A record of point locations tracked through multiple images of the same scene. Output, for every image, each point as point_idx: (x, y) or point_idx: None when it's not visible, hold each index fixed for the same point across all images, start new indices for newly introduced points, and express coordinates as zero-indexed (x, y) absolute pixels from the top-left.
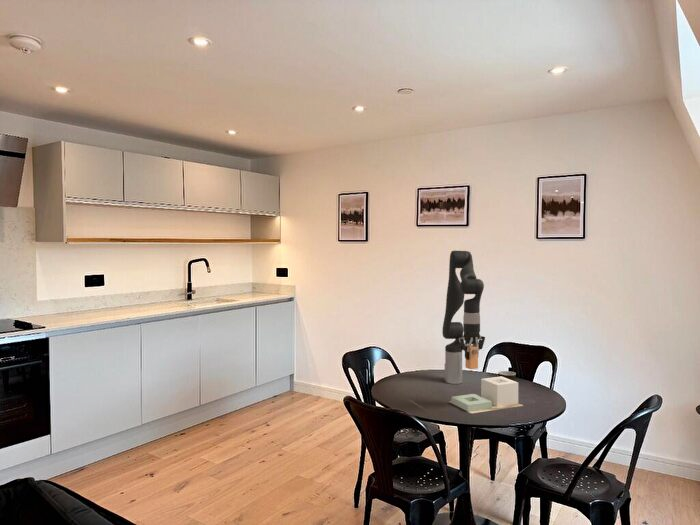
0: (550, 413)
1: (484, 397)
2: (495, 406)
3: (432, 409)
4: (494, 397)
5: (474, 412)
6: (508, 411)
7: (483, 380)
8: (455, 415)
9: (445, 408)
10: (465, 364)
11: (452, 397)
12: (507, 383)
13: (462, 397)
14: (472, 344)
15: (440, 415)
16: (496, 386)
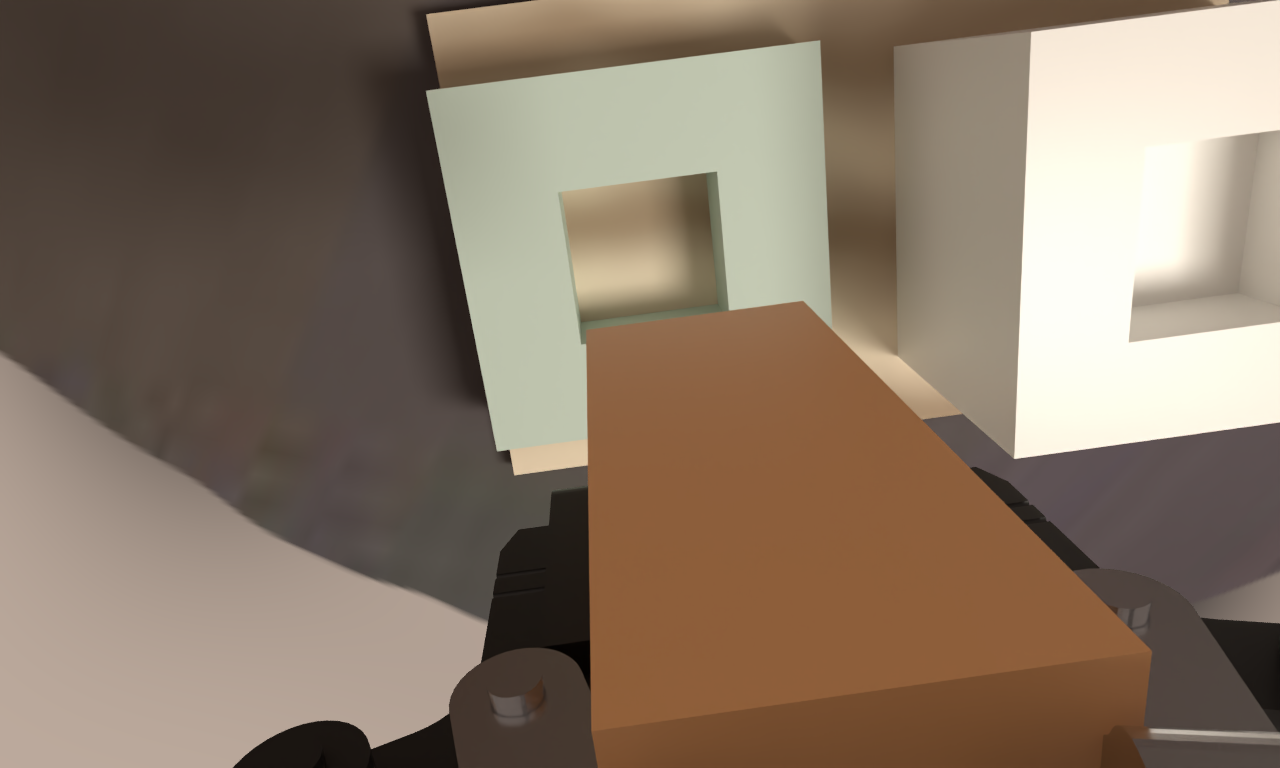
0: (1262, 563)
1: (910, 120)
2: (886, 340)
3: (150, 180)
4: (933, 333)
5: (562, 456)
6: (947, 437)
7: (1021, 100)
8: (357, 421)
9: (325, 186)
10: (587, 352)
11: (431, 116)
12: (1218, 410)
13: (565, 164)
14: (1134, 758)
15: (193, 387)
16: (1004, 426)
